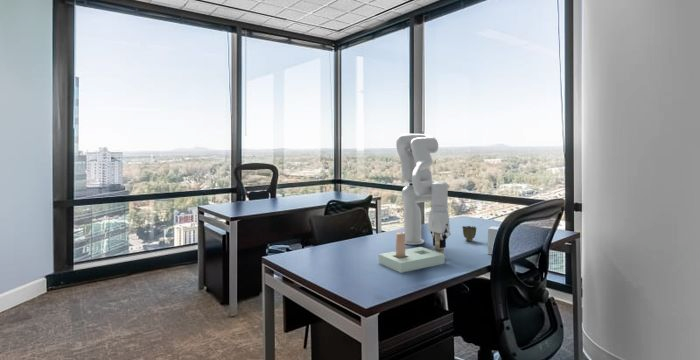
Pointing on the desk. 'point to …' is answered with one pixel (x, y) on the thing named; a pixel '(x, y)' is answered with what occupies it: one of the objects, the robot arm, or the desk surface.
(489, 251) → the supplement box
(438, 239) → the ash peg
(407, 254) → the peg board
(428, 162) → the robot arm
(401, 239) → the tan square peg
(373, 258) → the desk surface
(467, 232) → the cup
